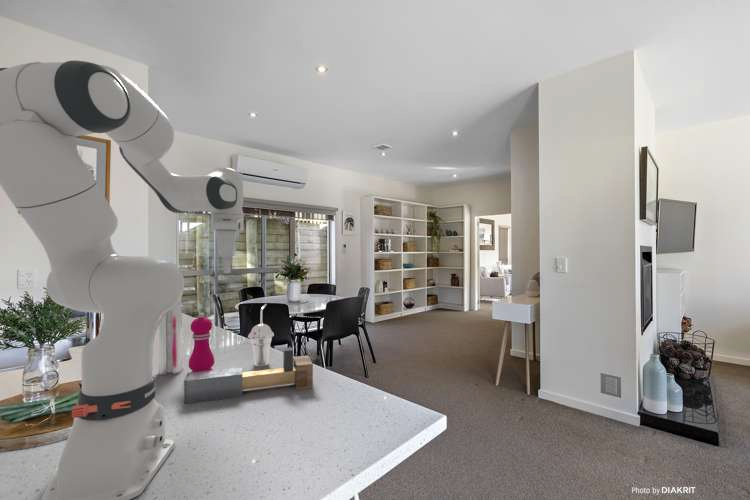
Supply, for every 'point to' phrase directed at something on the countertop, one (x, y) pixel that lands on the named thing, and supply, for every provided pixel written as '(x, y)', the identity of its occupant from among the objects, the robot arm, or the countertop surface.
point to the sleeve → (212, 385)
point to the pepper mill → (201, 345)
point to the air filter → (171, 341)
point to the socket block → (303, 372)
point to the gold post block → (272, 374)
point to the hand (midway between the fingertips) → (227, 271)
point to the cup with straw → (261, 342)
